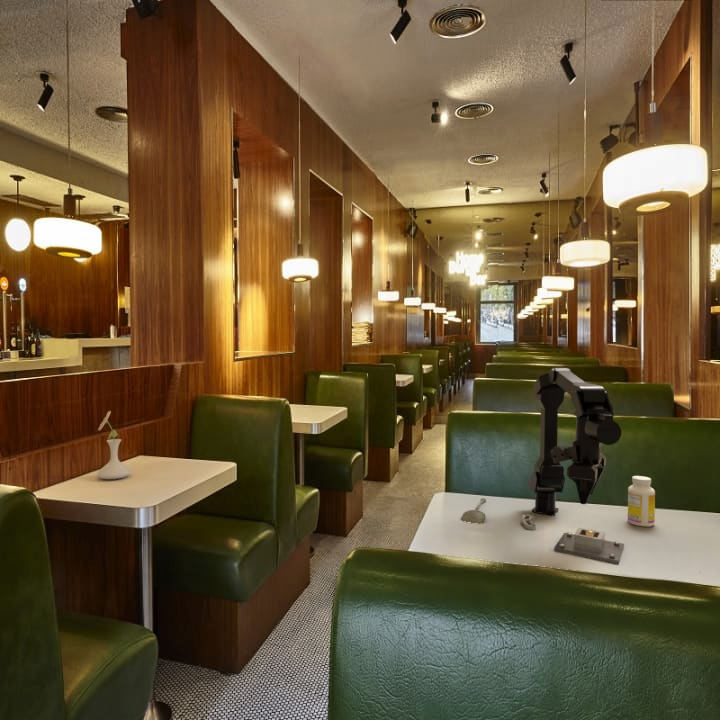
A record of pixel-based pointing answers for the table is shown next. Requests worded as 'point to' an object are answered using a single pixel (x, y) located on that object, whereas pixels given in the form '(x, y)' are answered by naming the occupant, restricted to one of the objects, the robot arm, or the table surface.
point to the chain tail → (528, 522)
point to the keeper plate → (608, 553)
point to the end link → (589, 540)
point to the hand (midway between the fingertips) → (586, 499)
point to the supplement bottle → (641, 502)
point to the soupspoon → (475, 514)
